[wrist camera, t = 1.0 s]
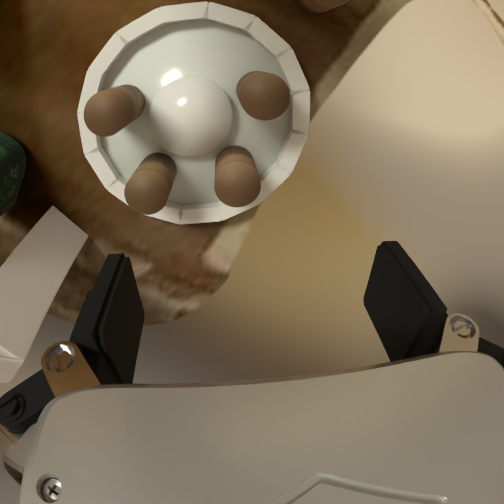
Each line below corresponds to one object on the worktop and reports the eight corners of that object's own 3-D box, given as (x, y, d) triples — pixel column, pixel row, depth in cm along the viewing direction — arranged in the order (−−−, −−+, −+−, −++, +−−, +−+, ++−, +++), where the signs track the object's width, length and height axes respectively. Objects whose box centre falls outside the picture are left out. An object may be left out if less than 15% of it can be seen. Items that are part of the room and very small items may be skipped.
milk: (89, 235, 35) (14, 394, 16) (67, 264, 37) (0, 412, 18) (52, 203, 32) (-51, 346, 14) (32, 235, 34) (-54, 373, 15)
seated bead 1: (137, 155, 29) (120, 175, 24) (174, 150, 30) (164, 170, 25) (142, 190, 31) (128, 216, 26) (178, 186, 32) (171, 212, 27)
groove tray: (77, 29, 22) (67, 28, 20) (304, 4, 23) (310, 1, 21) (107, 222, 34) (101, 232, 32) (302, 207, 35) (306, 216, 34)
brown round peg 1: (213, 146, 30) (212, 165, 25) (253, 144, 30) (260, 163, 25) (216, 183, 32) (216, 208, 27) (254, 180, 32) (261, 205, 27)
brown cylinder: (105, 88, 25) (80, 95, 20) (142, 81, 25) (124, 86, 20) (110, 125, 27) (87, 140, 22) (146, 119, 27) (130, 132, 22)
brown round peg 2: (235, 71, 26) (238, 73, 21) (277, 70, 26) (290, 72, 21) (237, 110, 28) (240, 121, 23) (277, 109, 28) (290, 120, 23)
